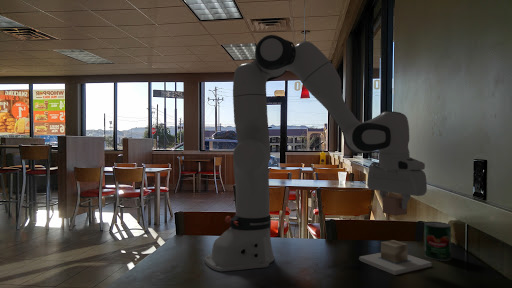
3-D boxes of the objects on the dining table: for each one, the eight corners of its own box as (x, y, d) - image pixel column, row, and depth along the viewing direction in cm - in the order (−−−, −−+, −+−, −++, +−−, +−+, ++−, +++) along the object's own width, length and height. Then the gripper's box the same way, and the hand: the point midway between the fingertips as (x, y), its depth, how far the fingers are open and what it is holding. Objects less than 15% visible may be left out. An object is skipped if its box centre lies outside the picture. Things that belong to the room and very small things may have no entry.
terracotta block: (395, 215, 103) (395, 199, 103) (382, 212, 108) (382, 197, 108) (406, 214, 106) (406, 198, 106) (393, 211, 110) (393, 196, 110)
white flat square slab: (394, 275, 97) (394, 270, 97) (359, 260, 109) (359, 256, 109) (431, 266, 104) (431, 262, 104) (394, 253, 116) (394, 249, 116)
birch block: (395, 263, 103) (395, 246, 103) (380, 257, 108) (380, 242, 108) (407, 260, 105) (407, 244, 105) (393, 255, 110) (393, 239, 110)
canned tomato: (443, 253, 117) (443, 221, 117) (456, 261, 109) (456, 226, 109) (419, 253, 117) (419, 221, 117) (431, 260, 109) (431, 226, 109)
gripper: (362, 161, 115) (362, 202, 115) (415, 164, 96) (415, 213, 96) (376, 161, 118) (376, 201, 117) (429, 164, 99) (430, 211, 99)
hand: (394, 206), depth 107 cm, fingers closed on terracotta block, 5 cm apart
